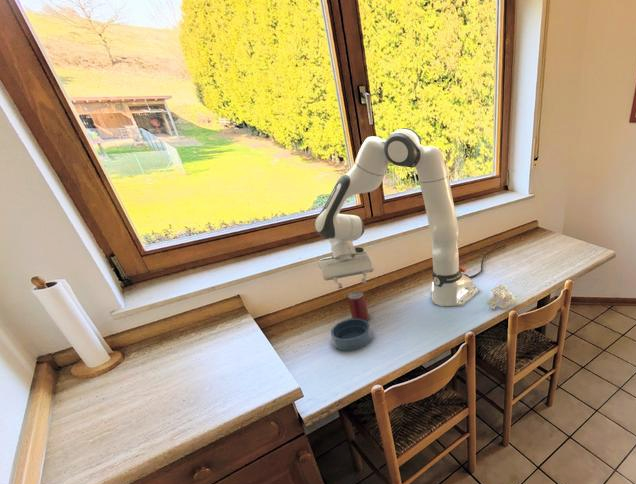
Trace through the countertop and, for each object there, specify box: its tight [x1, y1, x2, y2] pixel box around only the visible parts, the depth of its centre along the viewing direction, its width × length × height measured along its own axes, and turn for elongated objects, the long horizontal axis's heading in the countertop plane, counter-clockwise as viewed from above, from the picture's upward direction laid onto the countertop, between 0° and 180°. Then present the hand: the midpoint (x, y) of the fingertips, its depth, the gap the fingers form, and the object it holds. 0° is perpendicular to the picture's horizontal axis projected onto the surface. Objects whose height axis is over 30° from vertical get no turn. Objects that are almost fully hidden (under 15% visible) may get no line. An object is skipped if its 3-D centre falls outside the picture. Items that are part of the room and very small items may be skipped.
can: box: [347, 291, 370, 322], centre depth 144 cm, size 6×6×12 cm
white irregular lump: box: [485, 283, 518, 310], centre depth 155 cm, size 12×9×10 cm
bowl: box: [330, 318, 373, 352], centre depth 133 cm, size 14×14×6 cm
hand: (352, 285), depth 146 cm, fingers open, 8 cm apart
